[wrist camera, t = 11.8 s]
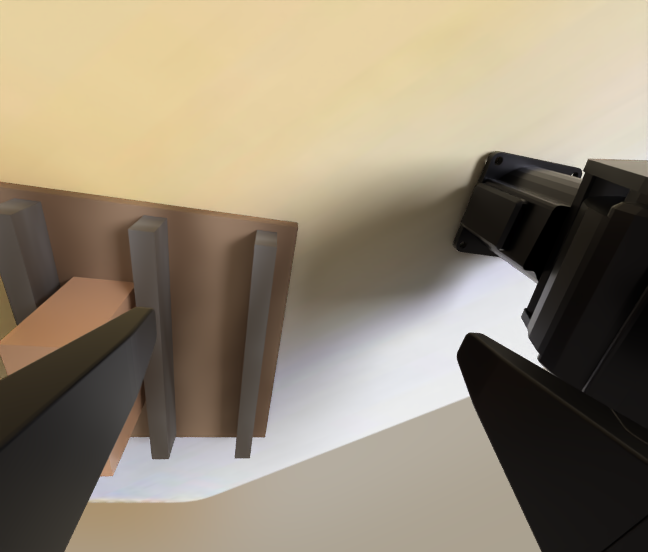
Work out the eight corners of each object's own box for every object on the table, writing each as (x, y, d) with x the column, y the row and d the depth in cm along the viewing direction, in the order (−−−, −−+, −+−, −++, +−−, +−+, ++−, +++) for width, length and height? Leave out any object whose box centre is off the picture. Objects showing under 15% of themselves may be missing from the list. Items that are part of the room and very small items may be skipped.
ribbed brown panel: (297, 222, 20) (300, 241, 17) (265, 429, 29) (263, 461, 26) (-4, 181, 17) (-56, 196, 14) (66, 427, 26) (43, 464, 23)
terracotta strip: (137, 282, 20) (87, 348, 14) (148, 395, 24) (112, 476, 19) (73, 276, 19) (-4, 344, 14) (97, 393, 24) (45, 477, 18)
